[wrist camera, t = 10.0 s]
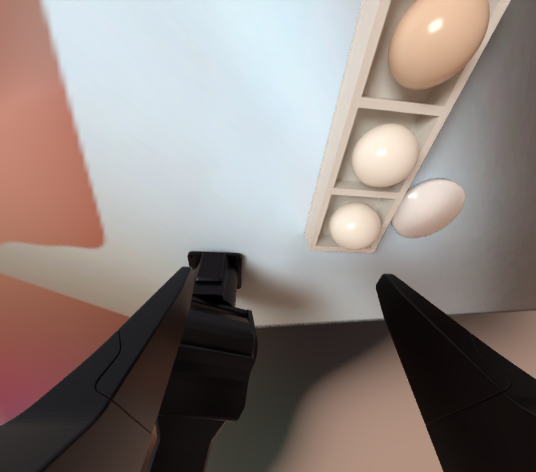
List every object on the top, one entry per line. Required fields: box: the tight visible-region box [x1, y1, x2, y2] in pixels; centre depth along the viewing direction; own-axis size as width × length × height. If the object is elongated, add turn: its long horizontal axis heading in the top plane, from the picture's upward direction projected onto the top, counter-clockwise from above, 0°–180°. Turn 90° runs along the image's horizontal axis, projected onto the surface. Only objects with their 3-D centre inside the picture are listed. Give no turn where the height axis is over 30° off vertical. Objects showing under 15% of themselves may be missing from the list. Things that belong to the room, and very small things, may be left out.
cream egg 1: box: [329, 202, 381, 250], centre depth 21 cm, size 5×5×5 cm
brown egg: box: [388, 0, 490, 90], centre depth 12 cm, size 5×5×5 cm
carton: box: [304, 0, 510, 253], centre depth 18 cm, size 20×7×3 cm, turn 175°
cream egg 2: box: [351, 123, 420, 187], centre depth 16 cm, size 5×5×5 cm
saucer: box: [391, 178, 465, 238], centre depth 23 cm, size 7×7×1 cm
